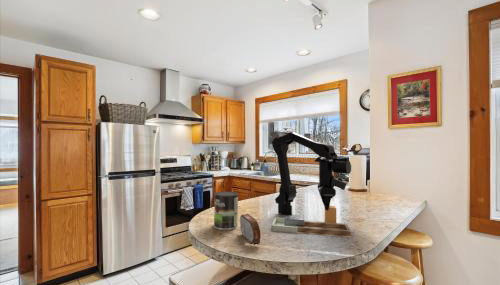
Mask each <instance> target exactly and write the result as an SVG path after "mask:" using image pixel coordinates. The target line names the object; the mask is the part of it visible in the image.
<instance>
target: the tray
mask: <svg viewBox="0 0 500 285" xmlns="http://www.w3.org/2000/svg"><path fill="white" fill-rule="evenodd" d="M284 219H285V217H278V216H277V217H274V218H273V222H272V224H271V225H270V226H271V231H273V232H285V233H295V234H299V233H298V227H294V226H284Z"/></svg>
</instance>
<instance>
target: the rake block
mask: <svg viewBox="0 0 500 285" xmlns="http://www.w3.org/2000/svg"><path fill="white" fill-rule="evenodd" d="M323 221H324V222H327V223H337V207H336V205H329V210H325V209H324V220H323Z"/></svg>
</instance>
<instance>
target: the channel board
mask: <svg viewBox="0 0 500 285" xmlns="http://www.w3.org/2000/svg"><path fill="white" fill-rule="evenodd" d="M297 227H298V233H297V234H305V235H317V236H328V237H329V236H330V237H343V238H352V231H351V228H350V227H349V224H348V223H339V222H338V223H337V222H336V223H327V222H323V221H312V220H311V221H310V220H304V227H302V226H297Z"/></svg>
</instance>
